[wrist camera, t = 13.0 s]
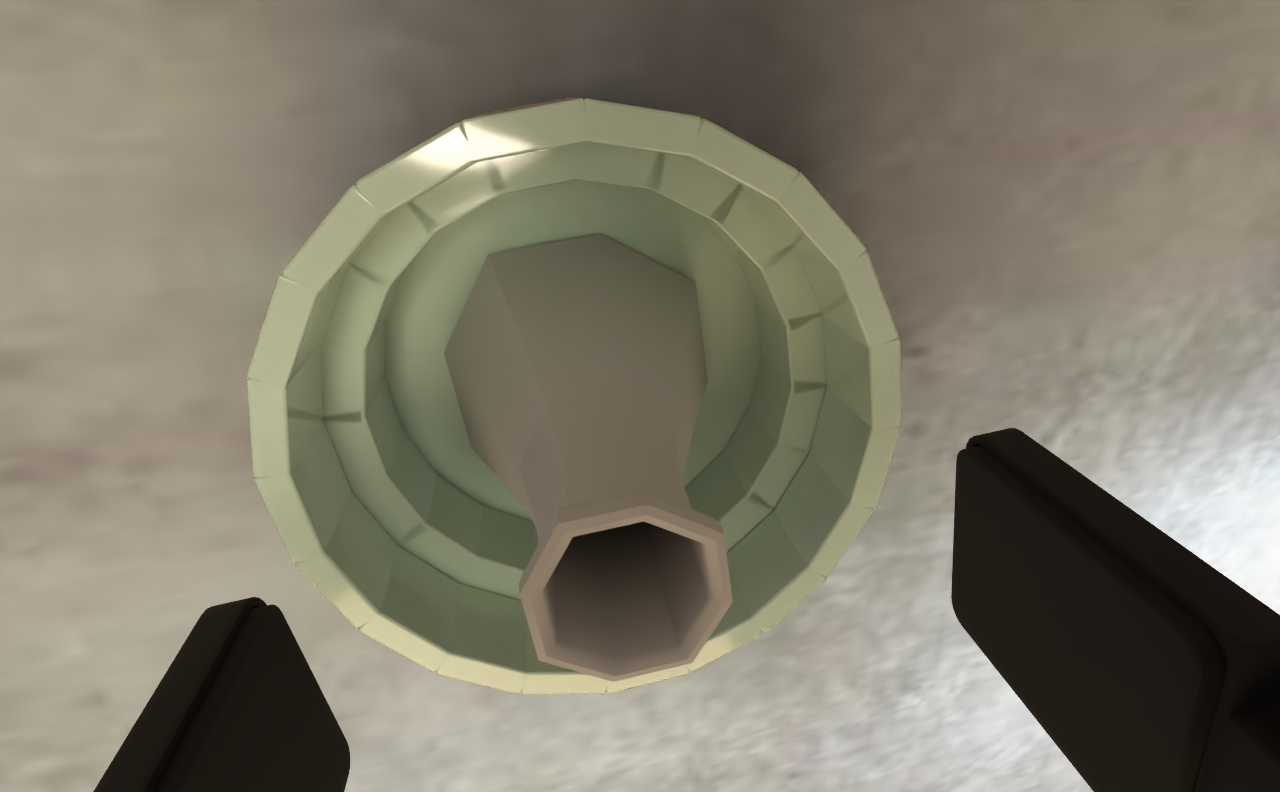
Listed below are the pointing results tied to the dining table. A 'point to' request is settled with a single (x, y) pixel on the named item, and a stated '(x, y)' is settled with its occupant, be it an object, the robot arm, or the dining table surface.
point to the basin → (431, 417)
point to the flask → (596, 448)
